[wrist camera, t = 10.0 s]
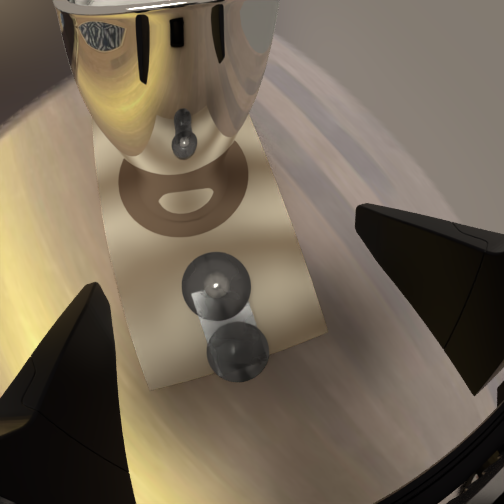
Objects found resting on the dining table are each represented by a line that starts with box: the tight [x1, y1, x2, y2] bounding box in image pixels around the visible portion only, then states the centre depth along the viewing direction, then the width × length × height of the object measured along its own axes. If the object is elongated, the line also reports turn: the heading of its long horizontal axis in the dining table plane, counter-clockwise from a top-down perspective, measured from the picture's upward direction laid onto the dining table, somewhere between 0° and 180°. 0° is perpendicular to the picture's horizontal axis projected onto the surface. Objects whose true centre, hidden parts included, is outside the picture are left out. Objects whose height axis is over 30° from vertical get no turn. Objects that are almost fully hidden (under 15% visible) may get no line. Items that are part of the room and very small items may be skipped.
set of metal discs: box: [182, 252, 269, 382], centre depth 18 cm, size 28×4×2 cm, turn 18°
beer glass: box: [53, 0, 280, 222], centre depth 12 cm, size 7×7×15 cm
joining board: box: [92, 114, 328, 391], centre depth 20 cm, size 26×12×1 cm, turn 18°
